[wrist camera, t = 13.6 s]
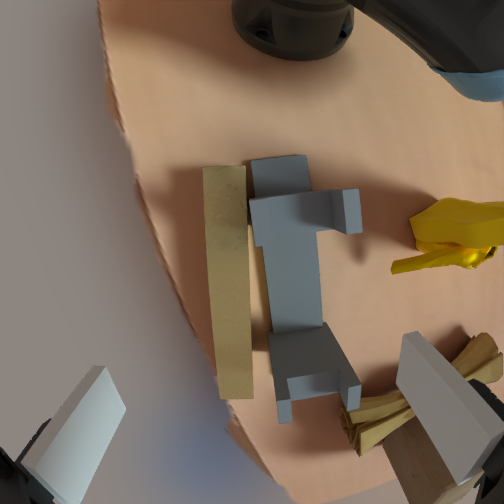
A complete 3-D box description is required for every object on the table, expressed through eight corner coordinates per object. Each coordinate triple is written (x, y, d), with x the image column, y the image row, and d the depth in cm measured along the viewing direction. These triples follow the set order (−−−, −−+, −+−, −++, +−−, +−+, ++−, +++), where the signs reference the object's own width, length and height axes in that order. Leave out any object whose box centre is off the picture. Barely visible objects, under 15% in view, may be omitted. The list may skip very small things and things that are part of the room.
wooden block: (393, 410, 37) (442, 494, 18) (438, 396, 37) (492, 465, 18) (379, 445, 39) (414, 523, 20) (422, 432, 39) (463, 498, 20)
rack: (243, 162, 30) (240, 140, 17) (310, 155, 30) (350, 130, 17) (273, 376, 35) (282, 448, 22) (327, 367, 35) (355, 434, 22)
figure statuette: (382, 279, 33) (505, 370, 11) (365, 221, 31) (512, 266, 10) (474, 227, 31) (592, 260, 10) (463, 176, 30) (590, 180, 8)
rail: (209, 171, 30) (202, 167, 25) (245, 170, 30) (245, 165, 25) (223, 375, 35) (220, 399, 31) (253, 375, 35) (253, 398, 31)
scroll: (339, 426, 38) (355, 471, 28) (331, 388, 36) (350, 435, 26) (471, 362, 36) (501, 389, 27) (475, 319, 35) (512, 344, 25)
